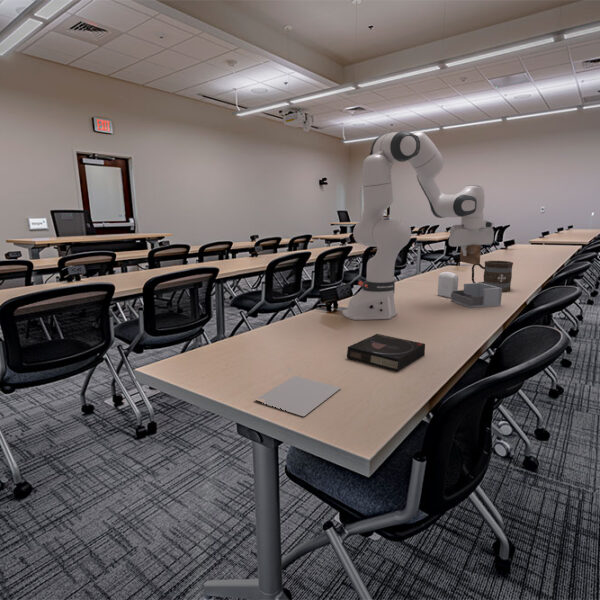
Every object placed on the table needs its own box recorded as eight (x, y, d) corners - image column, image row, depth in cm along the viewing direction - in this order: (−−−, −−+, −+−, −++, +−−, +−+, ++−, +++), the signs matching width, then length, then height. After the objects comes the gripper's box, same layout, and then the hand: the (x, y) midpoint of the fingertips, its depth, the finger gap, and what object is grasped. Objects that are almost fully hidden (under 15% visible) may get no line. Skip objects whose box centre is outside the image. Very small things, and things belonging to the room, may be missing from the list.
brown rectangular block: (473, 264, 175) (474, 246, 173) (459, 261, 184) (460, 243, 182) (479, 264, 175) (481, 245, 173) (465, 261, 185) (466, 243, 183)
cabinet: (470, 308, 176) (471, 290, 174) (450, 301, 190) (451, 284, 189) (500, 305, 179) (502, 288, 178) (478, 299, 194) (480, 282, 192)
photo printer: (458, 298, 197) (460, 273, 194) (452, 299, 195) (453, 273, 192) (442, 294, 206) (443, 270, 203) (436, 295, 204) (437, 271, 201)
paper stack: (223, 393, 98) (223, 390, 98) (284, 361, 118) (284, 359, 118) (303, 419, 85) (303, 416, 85) (356, 378, 106) (356, 376, 105)
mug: (511, 289, 216) (513, 261, 213) (509, 293, 205) (512, 264, 202) (471, 286, 226) (473, 259, 223) (468, 290, 215) (470, 262, 211)
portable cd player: (346, 360, 119) (346, 347, 118) (376, 345, 132) (376, 333, 131) (396, 374, 108) (397, 360, 108) (424, 356, 121) (425, 343, 120)
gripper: (454, 225, 171) (453, 257, 174) (497, 223, 175) (494, 254, 178) (446, 224, 177) (445, 256, 180) (487, 222, 181) (485, 253, 184)
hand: (470, 255), depth 179 cm, fingers closed on brown rectangular block, 3 cm apart
